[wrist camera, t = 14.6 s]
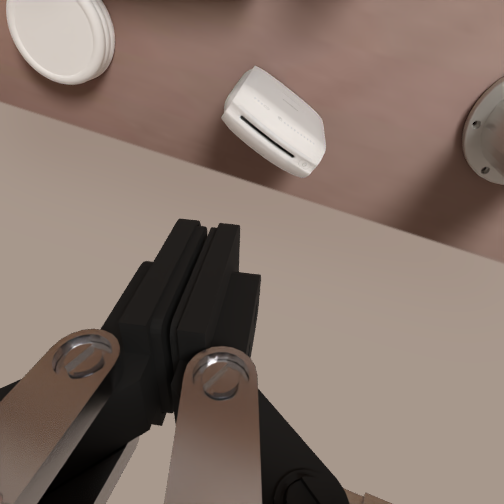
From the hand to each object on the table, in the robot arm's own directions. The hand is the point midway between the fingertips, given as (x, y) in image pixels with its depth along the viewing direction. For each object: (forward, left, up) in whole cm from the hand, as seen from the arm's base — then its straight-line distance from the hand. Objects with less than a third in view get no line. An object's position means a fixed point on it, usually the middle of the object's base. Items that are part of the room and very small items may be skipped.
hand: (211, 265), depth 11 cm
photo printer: (0, +4, -35) cm, 36 cm away
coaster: (+23, -2, -36) cm, 42 cm away
